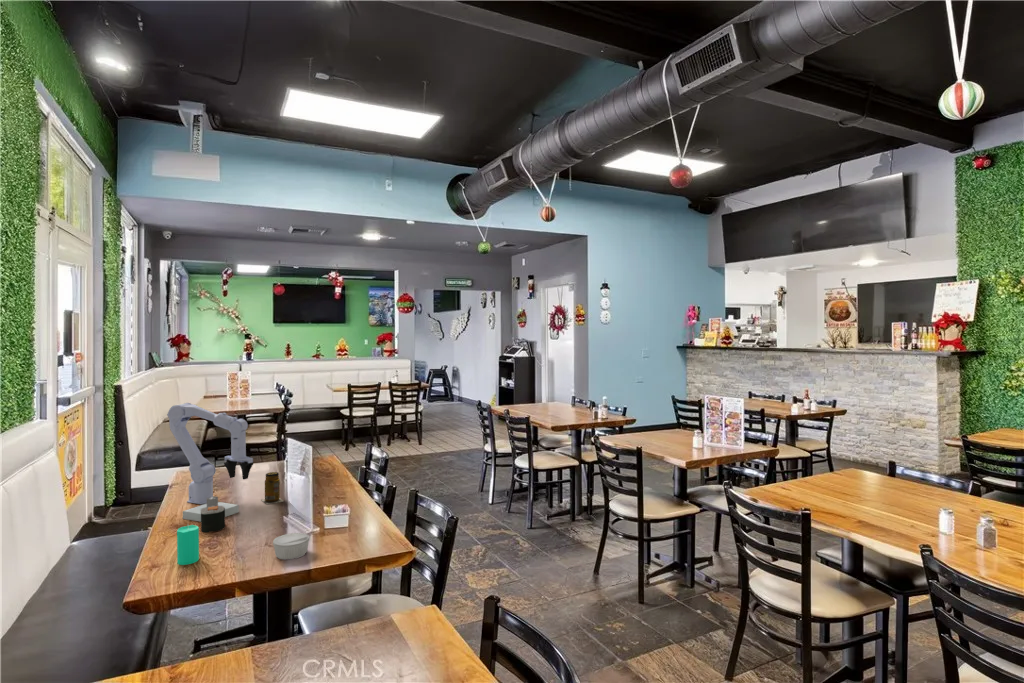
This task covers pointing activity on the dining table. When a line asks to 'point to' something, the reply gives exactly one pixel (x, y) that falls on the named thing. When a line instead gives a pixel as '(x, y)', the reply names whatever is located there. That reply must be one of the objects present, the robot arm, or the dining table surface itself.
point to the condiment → (272, 488)
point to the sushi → (212, 519)
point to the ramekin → (291, 545)
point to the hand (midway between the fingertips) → (238, 478)
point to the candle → (187, 545)
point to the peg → (212, 501)
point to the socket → (195, 512)
